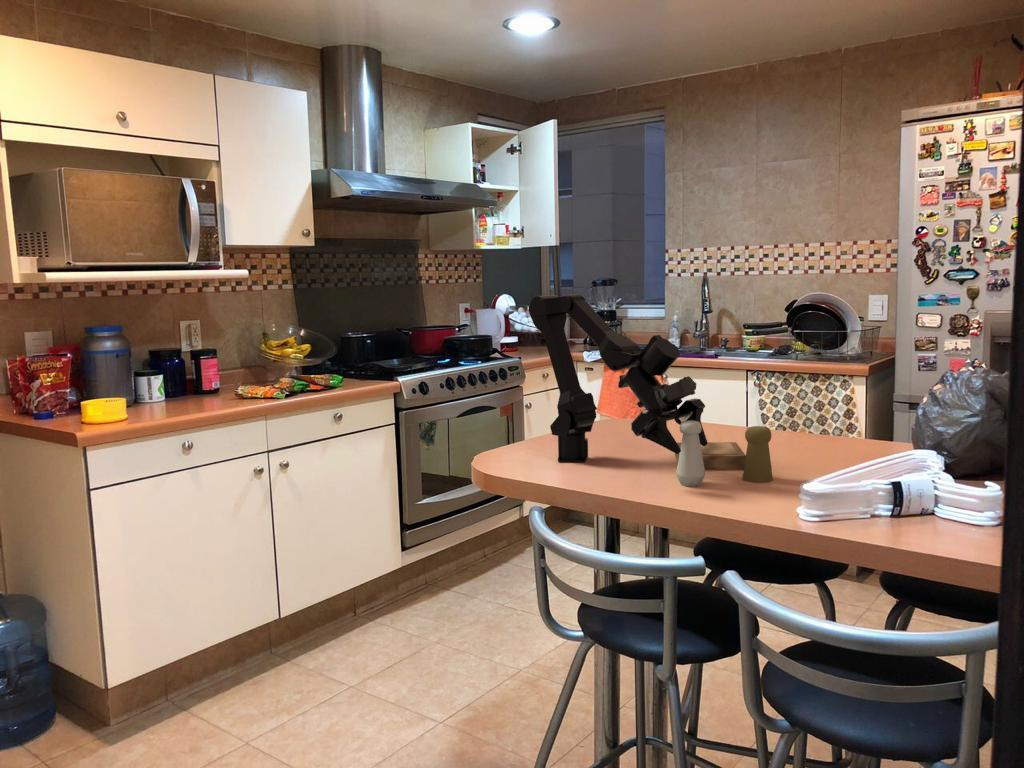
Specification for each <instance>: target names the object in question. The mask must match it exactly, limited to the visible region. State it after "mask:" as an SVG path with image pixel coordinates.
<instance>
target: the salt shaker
mask: <svg viewBox="0 0 1024 768" xmlns="http://www.w3.org/2000/svg"><path fill="white" fill-rule="evenodd" d="M701 424H702V422H701V423H700V422H698V421H692V420H689V421H683V422H682V423H681V424H680V425H679V431H680V433H681V434H682V436H681V437H682V439H681V442H680V443H681V452H680V455H679V460H678V462H677V467H676V472H675V473H676V477H677V479H678V481H679V484H680V485H681V486H684V487H691V486H695V488H696V487H698V486H701V485H702V484H703V481H704V479H705V476H706V470H705V469H704V463H703V457H702V452H701V446H700V440H699V433H701V429H702V427H703V426H702V427H701Z"/></svg>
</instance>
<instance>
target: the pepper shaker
mask: <svg viewBox="0 0 1024 768" xmlns="http://www.w3.org/2000/svg"><path fill="white" fill-rule="evenodd" d="M744 437H745V440H746V443H747V446H746V452H745V453H746V454H745V455H746V458H745V465H744V470H743V472H742V474H743V475H742V480H743V481H745V482H749V483H757V484H763V483H771V482H773V481H774V478H773V477H774V476H773V470H772V461H771V453H770V446H769V443H770V441H771V440H772V431H771V429H770V428H768V427H766V426H762V425H755V426H749V427H748V428H746V430H745V432H744Z"/></svg>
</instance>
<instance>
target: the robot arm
mask: <svg viewBox="0 0 1024 768" xmlns="http://www.w3.org/2000/svg"><path fill="white" fill-rule="evenodd" d="M528 314H529V316H530V319H531V322H532V323H533V325H534V326H535V328H536V329H537V330H539V331H538V332H540V333H541V334H542V335H543V337H544V341H545V344H546V348H547V352H548V355H549V360H550V362H551V363H550V364H551V366H552V369H553V373H554V377H555V380H556V384H557V388H558V391H559V398H558V401H557V406H556V407H557V413H558V416H557V417H556V418H555V419H554V421H553V422H552V423H551V424H550V426H549V428H550V432H551V435H552V436H557V449H558V453H557V454H558V455H557V457H558V458H557V462H558V463H560V462H561V463H575V462H576V463H579V462H580V463H581V462H583V463H585V462H587V458H589V438H587V437H586V433H590V432H592V430H593V426H594V423H595V422H596V418H597V411H596V410H598V408H597V406H596V404H595V402H594V401H595V400H594V396H593V394H592V392H585V391H584V390H583V388H582V387H581V384H580V380H579V378H578V377H579V376H578V374H577V371H576V367H575V363H574V359H573V355H572V353H571V349H570V346H569V342H568V339H567V334H566V331H565V326H566V322H567V319H568V316H569V317H570V318H571V319H572V320H573V321H574V323H576V324H577V326H578V327H579V328H581V330H582V331H583V332H584V333H585V334H586V335H587V336H588V337H589V338H590V339H591V340H592V341H593V342H594V344H595V345H596V346H597V348H598V351H599V356H600V358H601V359H602V361H603V362H604V364H605V365H606V367H607V368H608V369H609V370H611V371H615V372H616V371H623V370H628V371H626V373H625V374H620V375H619V377H618V378H619V381H618V384H617V385H618V386H617V387H618V388H619V389H622V388H623V389H624V388H628V387H629V389H630V390H631V392H632V393H633V394H634V396H635V397H636V398H637V400H638V402H637V403H636V404H637V407H638V408H639V409H640V408H644V409H642V411H640V413H639V414H638V415H637V416H636V417H635V418H634V420H632V422H631V424H630V425H631V431H632V433H633V434H634V435H635V436H636V437H641V438H642V439H646V440H649V441H651V442H653V443H655V444H657V445H659V446H662V447H663V448H664V449H665V450H666V449H667V450H669V451H670V452H672V453H674V454H675V453H676V454H679V453H680V452H681V449H680V448H679V446H678V444H677V443H678V442H677V441H676V439H675V438H674V436H673V434H672V433H671V431H670V430H669V429H668V424H667V423H668V421H672V420H674V422H675V423H676V424H677V425H679V426H680V424H681V423H682V422H683V421H689V420H692V421H698V422H700V423H701V427H702V429H701V433H699V440H700V444H701V445H703V446H706V445H707V444H708V439H707V437H706V434H705V431H704V428H703V424H702V419H701V418H702V414H703V413H704V409H705V407H706V405H705V403H704V402H703V401H702V399H701V398H691V399H687V400H684V402H683V400H682V399H684V398H686V397H688V396H693V395H695V394H696V392H695V391H696V389H697V383H696V382H695V380H693V378H692V377H690V376H684V377H683V378H680V379H678V380H677V381H675V382H674V383H673V382H672V383H671V384H668V383H664V384H662V383H661V382H660V380H659V379H658V378H657V376H658V377H661V376H664V375H665V374H666V373H667V371H668V370H669V369H670V367H671V366H673V364H674V363H675V362H676V361H677V359H678V358H679V357H680V354H681V352H680V349H679V348H678V346H677V345H676V344H674V343H672V342H671V341H669V340H668V339H666V338H663V337H662V336H661V334H655V335H652V337H650V339H649V341H648V343H647V344H646V345H645V346H644V348H641V347H640V346H639V345H638V344H637V343H636V342H635V341H633V340H632V339H630V338H629V337H628V336H625V335H623V334H621V333H618V332H617V331H615V330H614V329H613V328H612V327H611V326H610V325H609V324H608V323H607V322H606V321H605V320H604V319H603V318H602V317H601V316H600V314H599V313H597V311H596V310H595V309H594V308H593V307H591V305H590V304H589V303H588V302H587V301H586V298H585V297H584V296H583V295H581V294H577V293H576V294H574V293H573V294H565V295H564V296H563V295H562V296H560V295H556V294H553V295H552V294H551V295H537V296H534V297H533V298H532V299H531V300H530V302H529V305H528ZM681 403H682V404H681ZM679 405H680V406H679ZM678 406H679V407H678Z"/></svg>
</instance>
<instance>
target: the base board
mask: <svg viewBox="0 0 1024 768" xmlns="http://www.w3.org/2000/svg"><path fill="white" fill-rule="evenodd" d="M707 442H708V441H707ZM681 443H682V442H677V444H678V446H679V448H680V449H681ZM700 446H701V452H702V457H703V463H704V469H705V471H706V470H707V471H709V470H713V471H715V470H724V471H725V470H728V471H729V470H731V471H733V470H739V471H741V470H742V471H744V465H745V458H746V454H745V453H744V451H743V450H742V449H741V447H740V446H739V444H738V443H737V441H735V442H733V441H732V442H731V441H730V442H729V441H728V442H727V441H726V442H721V441H717V442H716V441H715V442H713V441H712V442H708V444H707V445H706V446H703V445H701V444H700ZM679 455H680V453H679V454H676V453H674V456H675V459H676V462H677V463H678V460H679Z"/></svg>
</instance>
